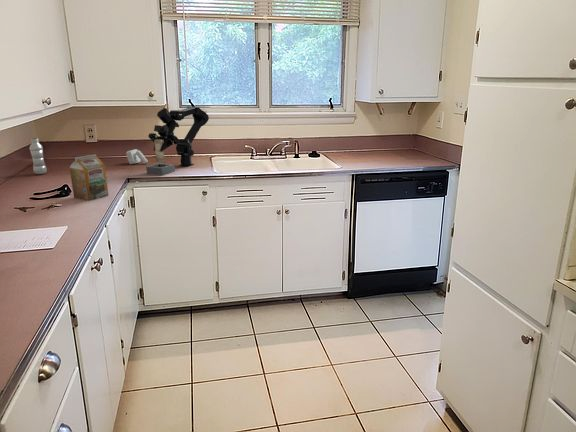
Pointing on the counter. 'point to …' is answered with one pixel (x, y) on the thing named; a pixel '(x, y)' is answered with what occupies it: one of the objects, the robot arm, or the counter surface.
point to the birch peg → (158, 153)
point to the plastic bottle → (37, 157)
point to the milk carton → (88, 178)
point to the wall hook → (135, 157)
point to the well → (160, 169)
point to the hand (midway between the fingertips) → (157, 150)
